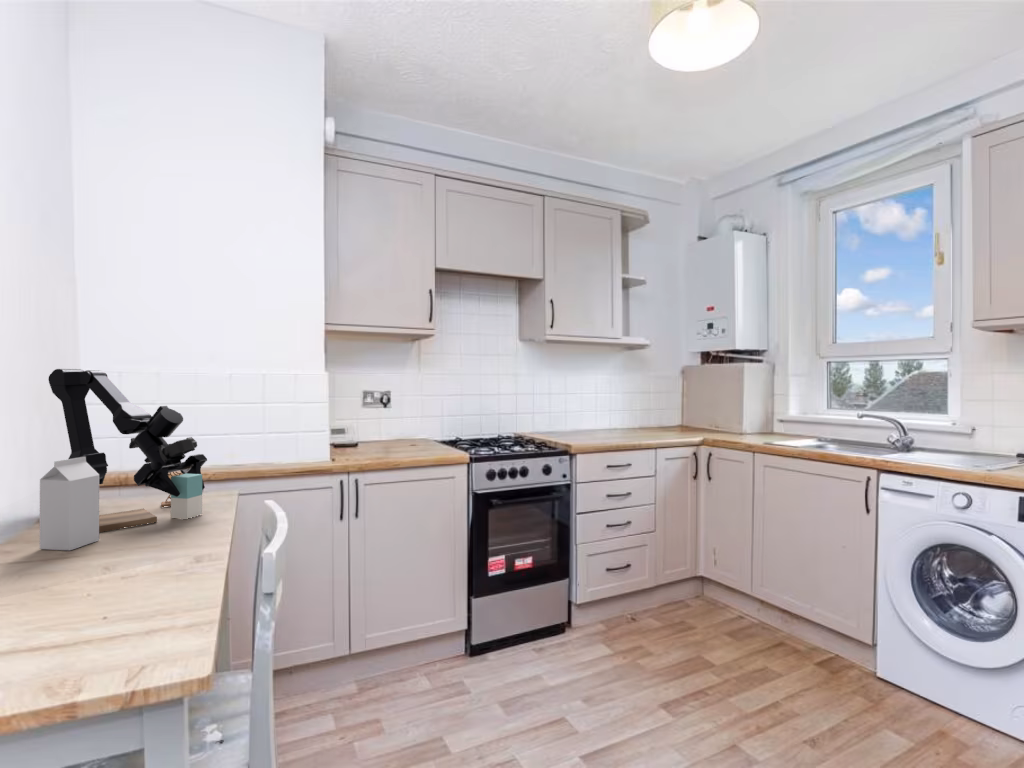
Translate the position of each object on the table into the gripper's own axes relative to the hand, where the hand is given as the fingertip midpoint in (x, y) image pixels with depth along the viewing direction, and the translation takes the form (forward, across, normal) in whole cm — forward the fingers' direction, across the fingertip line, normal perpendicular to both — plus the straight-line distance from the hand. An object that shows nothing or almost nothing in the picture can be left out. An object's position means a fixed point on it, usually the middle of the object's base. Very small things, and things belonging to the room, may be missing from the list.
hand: (191, 492), depth 137 cm
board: (-4, -9, +13) cm, 16 cm away
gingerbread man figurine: (-5, +11, +15) cm, 19 cm away
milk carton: (0, -26, +10) cm, 28 cm away
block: (+4, 0, +6) cm, 7 cm away
